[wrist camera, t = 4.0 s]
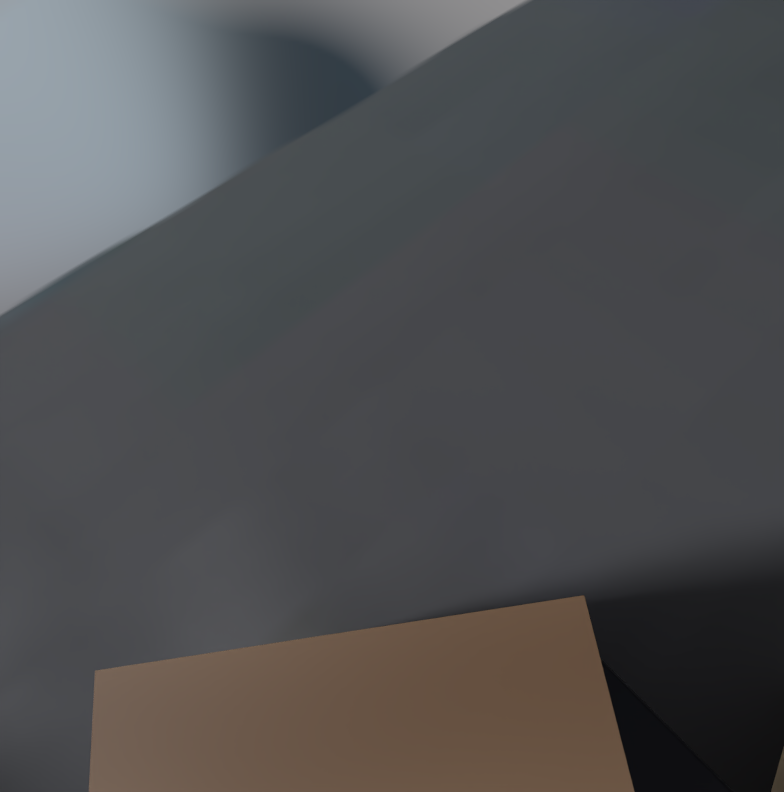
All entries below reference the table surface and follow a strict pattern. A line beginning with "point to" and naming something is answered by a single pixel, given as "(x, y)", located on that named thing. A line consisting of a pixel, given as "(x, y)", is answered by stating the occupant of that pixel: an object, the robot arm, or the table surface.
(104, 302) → the table surface
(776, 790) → the beech block
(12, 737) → the table surface
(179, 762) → the walnut block
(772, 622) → the table surface
